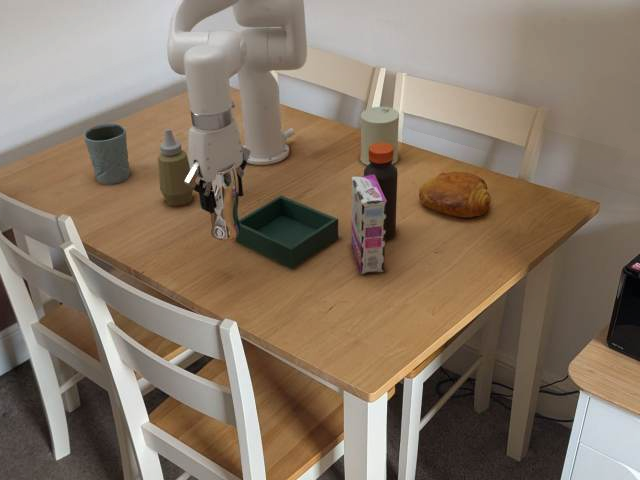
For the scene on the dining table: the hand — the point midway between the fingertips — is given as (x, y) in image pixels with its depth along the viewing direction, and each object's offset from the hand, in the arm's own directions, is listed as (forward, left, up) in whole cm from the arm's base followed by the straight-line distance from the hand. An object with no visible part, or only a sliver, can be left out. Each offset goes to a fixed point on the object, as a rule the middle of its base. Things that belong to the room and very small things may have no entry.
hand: (222, 201), depth 155 cm
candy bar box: (-20, +20, -16) cm, 32 cm away
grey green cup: (-10, -53, -16) cm, 56 cm away
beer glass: (0, 0, -7) cm, 7 cm away
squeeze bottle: (-12, -30, -16) cm, 36 cm away
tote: (-15, +2, -16) cm, 22 cm away
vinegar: (-29, +16, -16) cm, 37 cm away
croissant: (-49, +22, -16) cm, 56 cm away
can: (-56, -5, -16) cm, 58 cm away
